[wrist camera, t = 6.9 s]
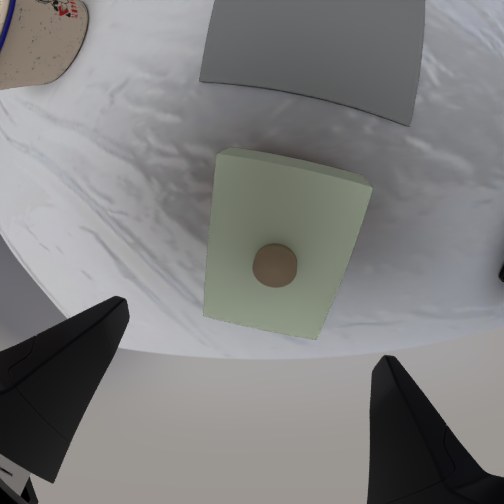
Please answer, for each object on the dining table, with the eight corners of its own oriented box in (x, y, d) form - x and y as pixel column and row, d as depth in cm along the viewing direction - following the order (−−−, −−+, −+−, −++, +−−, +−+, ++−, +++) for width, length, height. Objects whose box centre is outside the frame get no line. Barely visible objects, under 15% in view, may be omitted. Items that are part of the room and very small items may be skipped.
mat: (421, -17, 7) (424, -19, 7) (406, 126, 13) (409, 126, 13) (233, -56, 8) (231, -60, 8) (202, 82, 14) (199, 81, 14)
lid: (361, 174, 12) (376, 191, 10) (315, 313, 17) (316, 348, 14) (230, 146, 13) (212, 155, 10) (214, 291, 17) (200, 322, 15)
